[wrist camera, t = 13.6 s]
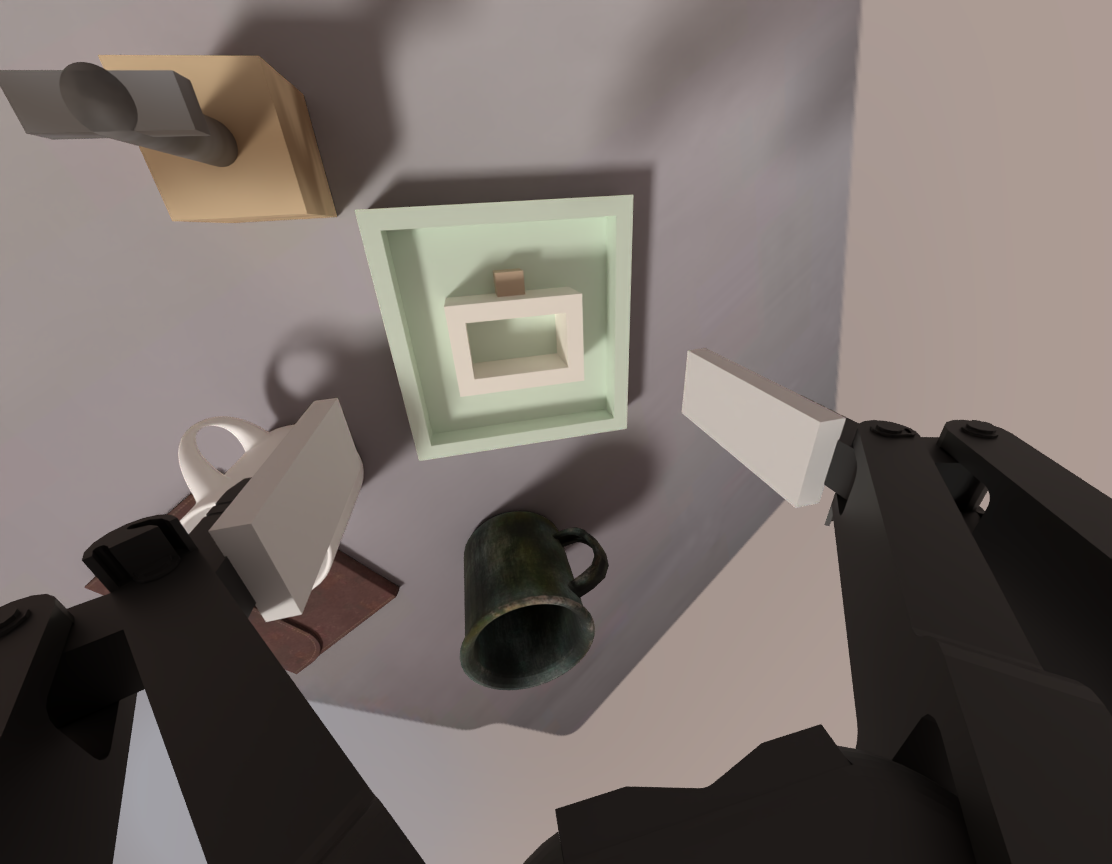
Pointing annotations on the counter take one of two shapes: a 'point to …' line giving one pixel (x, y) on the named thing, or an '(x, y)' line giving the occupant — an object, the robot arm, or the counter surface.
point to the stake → (190, 130)
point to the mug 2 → (525, 601)
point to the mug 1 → (243, 474)
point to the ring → (508, 305)
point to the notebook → (314, 608)
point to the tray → (467, 269)
